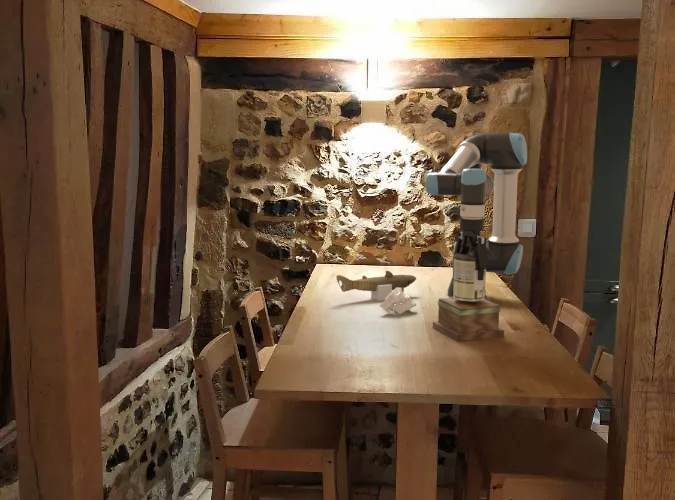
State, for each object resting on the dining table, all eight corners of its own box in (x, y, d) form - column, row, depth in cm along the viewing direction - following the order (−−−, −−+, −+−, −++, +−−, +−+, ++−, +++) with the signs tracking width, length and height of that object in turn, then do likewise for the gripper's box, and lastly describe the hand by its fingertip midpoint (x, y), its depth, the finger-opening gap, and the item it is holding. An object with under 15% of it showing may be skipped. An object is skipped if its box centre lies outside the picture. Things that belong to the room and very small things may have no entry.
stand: (476, 322, 215) (478, 294, 213) (503, 336, 200) (505, 305, 198) (432, 327, 209) (433, 298, 208) (457, 341, 194) (458, 310, 193)
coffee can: (455, 293, 209) (456, 251, 207) (486, 295, 206) (488, 253, 204) (450, 300, 200) (451, 256, 197) (483, 302, 196) (485, 258, 194)
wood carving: (331, 300, 245) (331, 272, 243) (409, 292, 259) (409, 266, 257) (340, 306, 236) (341, 277, 235) (420, 297, 250) (421, 270, 249)
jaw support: (415, 308, 221) (396, 289, 222) (398, 324, 224) (379, 305, 224) (419, 300, 233) (401, 282, 234) (402, 316, 235) (384, 298, 236)
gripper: (444, 214, 208) (441, 280, 211) (481, 222, 187) (478, 295, 190) (463, 213, 210) (461, 278, 214) (502, 221, 189) (499, 293, 193)
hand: (469, 286), depth 202 cm, fingers closed on coffee can, 10 cm apart
